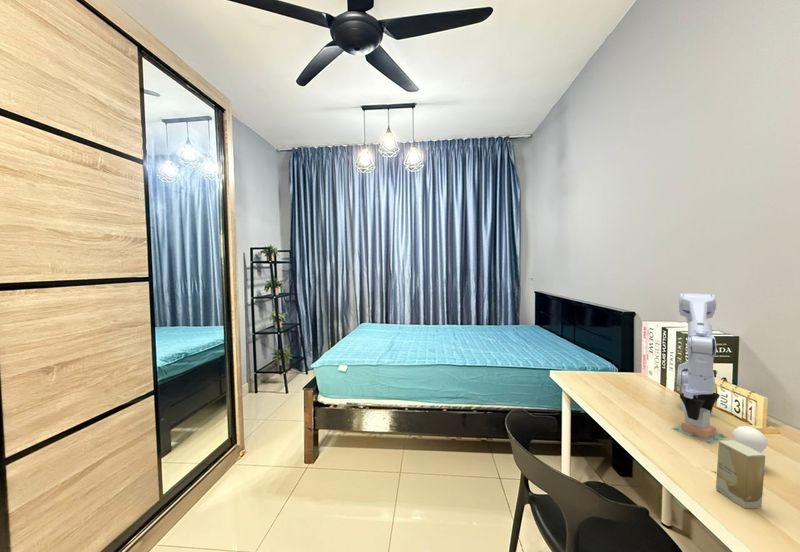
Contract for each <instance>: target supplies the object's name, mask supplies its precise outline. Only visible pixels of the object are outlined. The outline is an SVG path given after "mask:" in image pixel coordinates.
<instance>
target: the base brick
mask: <svg viewBox="0 0 800 552" xmlns="http://www.w3.org/2000/svg"><path fill="white" fill-rule="evenodd" d="M681 425H682V430H683V431H685V432H688V433H693V434H694V435H696V436H698V437H701V438H704V439H708V438H711V437H713V436H715V435H716V433H717V427H716V426H713V425H711V424H710V426H709V427H706V428H704V429H701V428H698V427H696V426H693V425H690V424H687V423H685V421H682V422H681Z"/></svg>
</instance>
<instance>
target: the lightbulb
mask: <svg viewBox="0 0 800 552" xmlns="http://www.w3.org/2000/svg"><path fill="white" fill-rule="evenodd" d="M732 437H733V440H735V441H737V442H739V443H741V444H743V445H745V446H748V447H750V448H752V449H753V450H755V451H757V452H759V453H761V454H762V453H763V451H765V450H766V449H767V447H768V440H767V438H766V437H765V435H764V434H763V433H762V432H761V431H760V430H759V429H756V428H755V427H751V426H748V425H747V426H746V425H741V426H737V427H736V428H735V429H734V430H733V432H732Z"/></svg>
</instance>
